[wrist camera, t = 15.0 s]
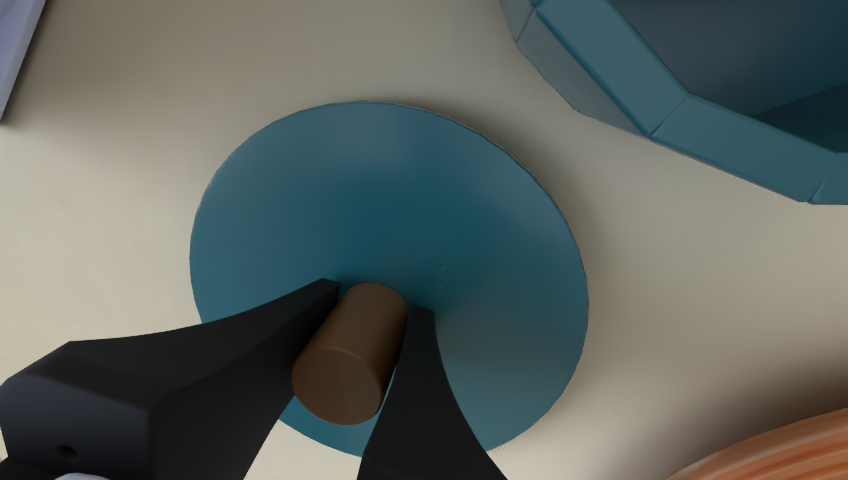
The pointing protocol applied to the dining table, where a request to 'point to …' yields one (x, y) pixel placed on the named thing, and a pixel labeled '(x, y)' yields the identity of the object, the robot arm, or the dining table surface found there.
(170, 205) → the dining table surface
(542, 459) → the dining table surface
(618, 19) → the tin
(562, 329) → the lid
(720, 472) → the ring
